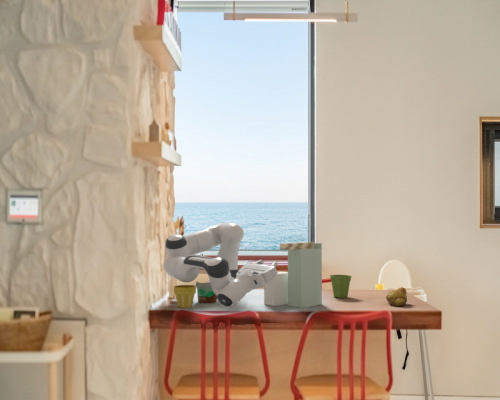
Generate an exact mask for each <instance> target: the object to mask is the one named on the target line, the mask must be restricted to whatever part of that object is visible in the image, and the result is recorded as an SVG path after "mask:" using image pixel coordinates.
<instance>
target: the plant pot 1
mask: <svg viewBox="0 0 500 400" xmlns="http://www.w3.org/2000/svg"><path fill="white" fill-rule="evenodd" d="M196 292H197V287H196V284H195V285H194V284H179V285H174V286H173V294H174V295H175V301H176V305H177V308H181V309H188V308H189V309H190V308H192V307H193V304H194V303H193V302H194V298H195V295H196Z"/></svg>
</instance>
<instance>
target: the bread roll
mask: <svg viewBox="0 0 500 400" xmlns="http://www.w3.org/2000/svg"><path fill="white" fill-rule="evenodd" d="M407 293H408V292H407V290H406V288H405V287H403V286H402V287H398V288H396V289H395V290H393V289H392V290H391V291H390V290H389V291H388V292H387V294H386V297H385V299H386V301H387V302H388V303H389V304H390V305H391V306H392V305H393V306H395V307H397V306H398V307H399V306H400V307H404V305H406V304H407V302H408V295H407Z"/></svg>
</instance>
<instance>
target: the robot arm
mask: <svg viewBox="0 0 500 400" xmlns="http://www.w3.org/2000/svg"><path fill="white" fill-rule="evenodd" d="M243 229H244V228H243V227H241V225H239V224H237V223H235V222H221V223H218V224H214V225H212V226H209V227H207V228H204V229H201V230H198V231H195V232H191V233H188V234H186V235H182V234H173V235H170V236H168V237H167V238H166V239H165V248H166V251H165V252H166V258H165V260H164V262H163V265H162V267H163V270H164V272H165V273H166V274H167V275H168V276H170V277H172V278H173V279H175V280H176V281H177V280H178V281H180V282H183V283H192V282H193V281H194V280H196V279H197V277H198V276H199V274H200V270H204V271H205V272H206V274H207V276H208V280H207V281H206V282H205V283H211V286H212V289H213V292H214V294H215V295H216V296H217V301H218V302H219V303H220V304H221V305H222V306H224V307H232V306H235V305H236V304H237V303H238V302H240V301H241V300H242V299H244V297H245V296H246V295H247V294H248V293H250V292H251V291H252V290H256V289H261V288H264V287H265V286H266V283H268V282H269V281H271V280H272V279H273V278H274V277H275V276H276V275H277V272H278V270H277V268H276V267H277V265H278V262H277V261H275V260H274V261H272V263H271V264H270V265H267V264H264V262H265V261H264V260H263V259H259V260H258V261H256V262H255V261H254V262H253V263H250V262H249V263H248V262H247V263H245V264H244V265H243V266H241V267H240V268H239V265H238V264H239V260H238V259H239V251H240V246H241V242H242V240H243V238H244V235H245V234H244V233H245V232H244V230H243ZM218 246H219V250H218V252H217V256H216V257H213V256H212V257H210V256H205V255H204V256H203V255H197V254H200V253H203V252H206V251H210V250H212V249H214V248H216V247H218Z"/></svg>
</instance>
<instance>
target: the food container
mask: <svg viewBox="0 0 500 400" xmlns="http://www.w3.org/2000/svg"><path fill="white" fill-rule="evenodd" d="M195 286H196V292H197V302H198V303H200V304H215V303H217V301H218V298H217V296H216V295H215V294H214V292H213V289H212V286H211V283H206V282H199V281H196V282H195Z"/></svg>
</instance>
